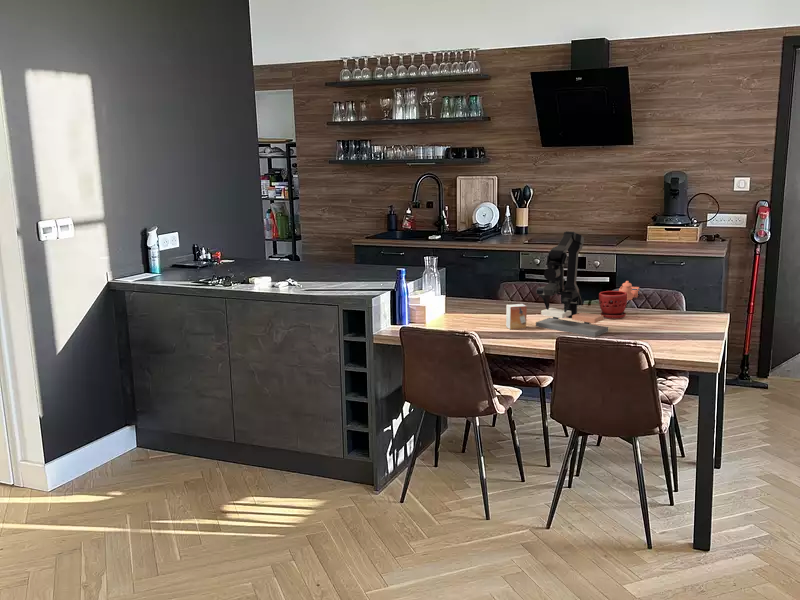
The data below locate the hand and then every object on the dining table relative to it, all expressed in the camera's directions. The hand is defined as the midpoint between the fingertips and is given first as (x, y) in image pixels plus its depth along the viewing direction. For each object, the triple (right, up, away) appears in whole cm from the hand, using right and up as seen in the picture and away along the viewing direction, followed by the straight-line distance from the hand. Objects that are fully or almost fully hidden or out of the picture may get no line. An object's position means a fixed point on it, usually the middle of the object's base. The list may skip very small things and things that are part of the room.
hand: (556, 310), depth 360 cm
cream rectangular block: (0, -3, +1) cm, 4 cm away
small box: (-18, -8, +1) cm, 20 cm away
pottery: (+51, +6, +64) cm, 82 cm away
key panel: (+6, -8, -4) cm, 11 cm away
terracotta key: (+12, -5, -10) cm, 16 cm away
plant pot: (+30, -3, +18) cm, 36 cm away
